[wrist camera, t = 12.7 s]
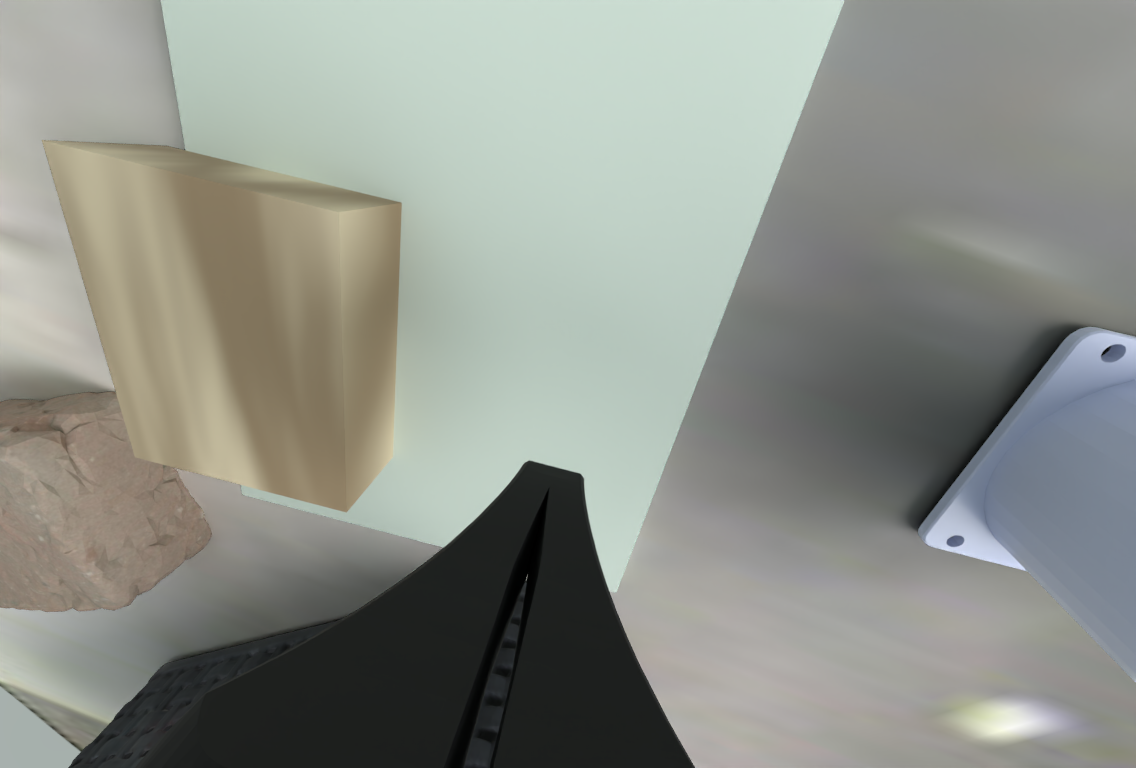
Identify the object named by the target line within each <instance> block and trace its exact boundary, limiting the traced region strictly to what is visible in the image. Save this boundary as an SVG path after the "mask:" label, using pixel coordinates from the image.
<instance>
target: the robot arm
mask: <svg viewBox="0 0 1136 768" xmlns="http://www.w3.org/2000/svg"><path fill="white" fill-rule="evenodd" d="M1109 346H1111V348H1110V350H1109V351H1108V352H1107V353H1106V354H1104V355H1102V356H1101V354H1102V352H1103V351H1104V350H1105V349H1106V348H1107V347H1109ZM918 535H919V536H920V537H921V539H922V540H923V541H924V543H925V544H926V545H928V546H930V547H934V548H938V549H942V550H945V551H949V552H953V553H957V554H961V555H965V556H969V557H973V558H977V559H981V560H985V561H989V562H993V563H997V564H1001V565H1005V566H1008V567H1012V568H1016V569H1020V570H1024V571H1028V572H1029V573H1030V575H1031V576H1032V577H1033V578H1034V579H1035V580H1036V581H1037V582H1038V583H1039V584H1040V585H1041V586H1042V587H1043V588H1044V589H1045V590H1046V591H1047V592H1048V593H1049V594H1050V595H1051V596H1052V597H1053V598H1054V599H1055V600H1056V601H1057V602H1058V603H1059V604H1060V605H1061V606H1062V607H1063V608H1064V609H1065V610H1066V612H1067V613H1068V614H1069V615H1070V616H1071V617H1072V618H1073V619H1074V620H1075V621H1076V622H1077V623H1078V624H1079V625H1080V626H1081V627H1082V628H1083V629H1084V630H1085V631H1086V632H1087V633H1088V634H1089V635H1090V636H1091V637H1092V638H1093V639H1094V640H1095V641H1096V642H1097V643H1098V644H1099V645H1100V646H1101V647H1102V649H1103V650H1104V651H1105V652H1106V653H1107V654H1108V655H1109V656H1110V657H1111V658H1112V659H1113V660H1114V661H1115V662H1116V663H1117V664H1118V665H1119V666H1120V667H1121V668H1122V669H1123V670H1124V671H1125V672H1126V673H1127V674H1128V675H1129V676H1130V677H1131V678H1132V679H1133V680H1134V681H1135V682H1136V337H1135V336H1131V335H1127V334H1122V333H1118V332H1114V331H1110V330H1106V329H1102V328H1097V327H1085V328H1082V329H1078V330H1077V331H1075V332H1073V333H1071V334H1070V335H1069V336H1068V337H1067V338H1066V339H1065V340H1064V341H1063V342H1062V343H1061V345H1060V346H1059V347H1058V349H1057V350H1056V351H1055V352H1054V354H1053V355H1052V356H1051V358H1050V359H1049V360H1048V362H1047V363H1046V364H1045V365H1044V367H1043V368H1042V369H1041V371H1040V372H1039V373H1038V374H1037V376H1036V377H1035V378H1034V380H1033V381H1032V382H1031V383H1030V385H1029V386H1028V387H1027V389H1026V390H1025V391H1024V393H1023V394H1022V395H1021V396H1020V398H1019V399H1018V400H1017V402H1016V403H1015V404H1014V405H1013V407H1012V408H1011V409H1010V411H1009V412H1008V413H1007V414H1006V416H1005V417H1004V418H1003V420H1002V421H1001V422H1000V424H999V425H998V426H997V427H996V429H995V430H994V431H993V433H992V434H991V435H990V436H989V438H988V439H987V440H986V442H985V443H984V444H983V446H982V447H981V448H980V449H979V451H978V452H977V453H976V455H975V456H974V457H973V458H972V460H971V461H970V462H969V464H968V465H967V466H966V467H965V469H964V470H963V471H962V473H961V474H960V475H959V477H958V478H957V479H956V480H955V482H954V483H953V484H952V486H951V487H950V488H949V489H948V491H947V492H946V493H945V495H944V496H943V497H942V498H941V500H940V501H939V502H938V504H937V505H936V506H935V508H934V509H933V510H932V511H931V513H930V514H929V515H928V517H927V518H926V519H925V520H924V522H923V523H922V524H921V526H920V527H919V529H918ZM951 536H953V537H951ZM950 537H951V538H950ZM527 575H528V577H527ZM526 577H527V583H526V589H525V595H524V601H523V607H522V613H521V619H520V625H519V631H518V637H517V643H516V649H515V655H514V661H513V667H512V673H511V678H510V683H509V688H508V693H507V698H506V702H505V706H504V710H503V714H502V718H501V722H500V726H499V730H498V734H497V738H496V742H495V746H494V750H493V754H492V758H491V763H490V767H489V768H695V767H694V765H693V763H692V762H691V760H690V758H689V756H688V755H687V753H686V751H685V749H684V748H683V746H682V744H681V742H680V741H679V739H678V737H677V735H676V734H675V732H674V730H673V728H672V727H671V725H670V723H669V721H668V719H667V717H666V715H665V713H664V711H663V709H662V708H661V706H660V704H659V702H658V700H657V698H656V696H655V694H654V692H653V690H652V688H651V686H650V684H649V682H648V680H647V678H646V676H645V674H644V672H643V670H642V668H641V666H640V664H639V662H638V660H637V658H636V656H635V653H634V651H633V649H632V647H631V644H630V642H629V640H628V638H627V635H626V633H625V631H624V628H623V626H622V623H621V621H620V618H619V616H618V614H617V611H616V608H615V606H614V603H613V600H612V598H611V595H610V592H609V589H608V586H607V583H606V580H605V577H604V574H603V571H602V568H601V565H600V561H599V558H598V554H597V551H596V547H595V543H594V539H593V535H592V531H591V526H590V522H589V517H588V511H587V506H586V499H585V490H584V478H583V476H582V475H581V474H580V473H576V472H573V471H569V470H565V469H561V468H557V467H553V466H549V465H546V464H542V463H538V462H534V461H530V460H529V461H527V462H525V463H524V464H523V465H522V467H521V468H520V470H519V471H518V473H517V474H516V475H515V477H514V478H513V479H512V480H511V482H510V483H509V484H508V485H507V486H506V487H505V489H504V490H503V491H502V492H501V493H500V494H499V495H498V496H497V497H496V499H495V500H494V501H493V502H492V503H491V504H490V505H489V506H488V507H487V508H486V509H485V510H484V511H483V512H482V513H481V514H480V515H479V516H478V517H477V518H476V519H475V520H474V521H473V522H472V523H471V524H470V525H468V526H467V527H466V528H465V529H464V530H463V531H462V532H461V533H460V534H459V535H457V536H456V537H455V538H454V539H453V540H452V541H451V542H450V543H448V544H447V545H446V546H445V547H444V548H443V549H441V550H440V551H439V552H438V553H436V554H435V555H434V556H433V557H432V558H430V559H429V560H428V561H426V562H425V563H424V564H423V565H421V566H420V567H419V568H417V569H416V570H415V571H413V572H412V573H411V574H409V575H408V576H407V577H405V578H404V579H402V580H401V581H399V582H398V583H397V584H395V585H394V586H392V587H391V588H389V589H388V590H387V591H385V592H384V593H382V594H381V595H379V596H378V597H376V598H375V599H373V600H372V601H370V602H369V603H367V604H366V605H364V606H363V607H361V608H359V609H358V610H356V611H355V612H353V613H351V614H349V615H348V616H346V617H344V618H343V619H341V620H339V621H338V622H336V623H334V624H333V625H331V626H329V627H328V628H326V629H324V630H323V631H321V632H319V633H318V634H316V635H314V636H312V637H311V638H309V639H307V640H306V641H304V642H302V643H300V644H299V645H297V646H295V647H293V648H291V649H289V650H288V651H286V652H284V653H282V654H280V655H278V656H276V657H274V658H272V659H270V660H268V661H266V662H264V663H262V664H260V665H259V666H257V667H255V668H253V669H251V670H249V671H247V672H245V673H243V674H241V675H239V676H237V677H235V678H233V679H231V680H229V681H227V682H225V683H224V684H222V685H220V686H217V687H215V688H213V689H212V690H210V691H208V692H206V693H205V694H204V695H203V696H202V697H201V698H200V699H199V700H198V701H197V702H196V703H195V704H194V705H193V706H192V707H191V708H190V709H189V710H188V711H187V712H186V713H185V714H184V715H183V716H182V717H181V718H180V719H179V720H178V721H177V722H176V723H175V724H174V725H173V726H172V727H171V728H170V729H169V730H168V731H167V732H166V733H165V734H164V735H163V736H162V737H161V738H160V739H159V740H158V742H157V743H156V744H155V745H154V746H153V747H152V748H151V749H150V750H149V752H148V753H147V754H146V755H145V756H144V758H143V759H142V760H141V761H140V762H139V763H138V765H137V766H136V767H135V768H464V766H465V762H466V759H467V755H468V751H469V748H470V744H471V741H472V737H473V734H474V730H475V726H476V723H477V719H478V716H479V712H480V709H481V705H482V702H483V698H484V695H485V691H486V688H487V685H488V682H489V679H490V676H491V673H492V670H493V667H494V664H495V661H496V659H497V656H498V653H499V651H500V648H501V645H502V642H503V640H504V637H505V634H506V632H507V629H508V626H509V624H510V621H511V618H512V615H513V613H514V610H515V607H516V605H517V602H518V599H519V596H520V594H521V591H522V588H523V586H524V583H525V580H526Z"/></svg>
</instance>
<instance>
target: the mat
mask: <svg viewBox="0 0 1136 768" xmlns="http://www.w3.org/2000/svg"><path fill="white" fill-rule="evenodd" d="M844 1H845V0H161V6H162V12H163V18H164V24H165V30H166V36H167V42H168V48H169V54H170V60H171V66H172V72H173V79H174V85H175V91H176V97H177V103H178V109H179V115H180V121H181V127H182V133H183V139H184V145H185V150H186V151H190V152H194V153H198V154H202V155H206V156H210V157H215V158H219V159H223V160H227V161H231V162H235V163H239V164H244V165H248V166H252V167H256V168H260V169H264V170H269V171H273V172H277V173H281V174H285V175H289V176H293V177H298V178H302V179H306V180H310V181H314V182H318V183H322V184H327V185H331V186H335V187H339V188H343V189H347V190H351V191H356V192H360V193H364V194H368V195H372V196H376V197H380V198H385V199H389V200H393V201H397V202H401V203H402V211H401V240H400V269H399V298H398V326H397V355H396V384H395V413H394V441H393V458H392V459H391V460H390V461H389V462H388V464H387V465H386V466H385V467H384V468H383V470H382V471H381V472H380V473H379V474H378V476H377V477H376V478H375V479H374V480H373V482H372V483H371V484H370V485H369V486H368V488H367V489H366V490H365V491H364V492H363V494H362V495H361V496H360V497H359V498H358V500H357V501H356V502H355V503H354V504H353V506H352V507H351V508H350V509H349V510H348V512H347V513H346V512H343V511H339V510H335V509H331V508H327V507H323V506H320V505H316V504H312V503H308V502H304V501H300V500H297V499H293V498H289V497H285V496H281V495H277V494H274V493H270V492H266V491H262V490H258V489H255V488H251V487H247V486H243V485H241V491H242V495H244V496H248V497H252V498H256V499H260V500H263V501H267V502H271V503H275V504H279V505H283V506H286V507H290V508H294V509H298V510H302V511H306V512H309V513H313V514H317V515H321V516H325V517H328V518H332V519H336V520H340V521H344V522H348V523H351V524H355V525H359V526H363V527H367V528H370V529H374V530H378V531H382V532H386V533H390V534H393V535H397V536H401V537H405V538H409V539H413V540H416V541H420V542H424V543H428V544H432V545H435V546H439V547H443V548H444V547H445V546H446V545H447V544H448V543H450V542H451V541H452V540H453V539H454V538H455V537H456V536H457V535H459V534H460V533H461V532H462V531H463V530H464V529H465V528H466V527H467V526H468V525H470V524H471V523H472V522H473V521H474V520H475V519H476V518H477V517H478V516H479V515H480V514H481V513H482V512H483V511H484V510H485V509H486V508H487V507H488V506H489V505H490V504H491V503H492V502H493V501H494V500H495V499H496V497H497V496H498V495H499V494H500V493H501V492H502V491H503V490H504V489H505V487H506V486H507V485H508V484H509V483H510V482H511V480H512V479H513V478H514V477H515V475H516V474H517V473H518V471H519V470H520V468H521V467H522V465H523V464H524V463H525V462H527V461H529V460H530V461H534V462H538V463H542V464H546V465H549V466H553V467H557V468H561V469H565V470H569V471H573V472H576V473H580V474H581V475H582V476H583V478H584V490H585V499H586V506H587V511H588V517H589V522H590V526H591V531H592V535H593V539H594V543H595V547H596V551H597V554H598V558H599V561H600V565H601V568H602V571H603V574H604V577H605V580H606V583H607V586H608V589H609V591H611V592H615V593H616V592H617V589H618V587H619V584H620V581H621V579H622V576H623V574H624V571H625V569H626V566H627V563H628V561H629V558H630V556H631V553H632V550H633V548H634V545H635V543H636V540H637V537H638V535H639V532H640V530H641V527H642V524H643V522H644V519H645V517H646V514H647V511H648V509H649V506H650V504H651V501H652V498H653V496H654V493H655V491H656V488H657V486H658V483H659V480H660V478H661V475H662V473H663V470H664V467H665V465H666V462H667V460H668V457H669V454H670V452H671V449H672V447H673V444H674V441H675V439H676V436H677V434H678V431H679V428H680V426H681V423H682V421H683V418H684V415H685V413H686V410H687V408H688V405H689V403H690V400H691V397H692V395H693V392H694V390H695V387H696V384H697V382H698V379H699V377H700V374H701V371H702V369H703V366H704V364H705V361H706V358H707V356H708V353H709V351H710V348H711V345H712V343H713V340H714V338H715V335H716V332H717V330H718V327H719V325H720V322H721V320H722V317H723V314H724V312H725V309H726V307H727V304H728V301H729V299H730V296H731V294H732V291H733V288H734V286H735V283H736V281H737V278H738V275H739V273H740V270H741V268H742V265H743V262H744V260H745V257H746V255H747V252H748V250H749V247H750V244H751V242H752V239H753V237H754V234H755V231H756V229H757V226H758V224H759V221H760V218H761V216H762V213H763V211H764V208H765V205H766V203H767V200H768V198H769V195H770V192H771V190H772V187H773V185H774V182H775V179H776V177H777V174H778V172H779V169H780V167H781V164H782V161H783V159H784V156H785V154H786V151H787V148H788V146H789V143H790V141H791V138H792V135H793V133H794V130H795V128H796V125H797V122H798V120H799V117H800V115H801V112H802V109H803V107H804V104H805V102H806V99H807V96H808V94H809V91H810V89H811V86H812V84H813V81H814V78H815V76H816V73H817V71H818V68H819V65H820V63H821V60H822V58H823V55H824V52H825V50H826V47H827V45H828V42H829V39H830V37H831V34H832V32H833V29H834V26H835V24H836V21H837V19H838V16H839V13H840V11H841V8H842V6H843V3H844Z"/></svg>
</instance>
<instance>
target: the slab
mask: <svg viewBox="0 0 1136 768" xmlns="http://www.w3.org/2000/svg"><path fill="white" fill-rule="evenodd" d="M42 142H43V146H44V149H45V153H46V156H47V159H48V163H49V166H50V170H51V173H52V176H53V180H54V183H55V187H56V190H57V193H58V197H59V200H60V204H61V207H62V211H63V214H64V217H65V221H66V224H67V228H68V231H69V234H70V238H71V241H72V245H73V248H74V251H75V255H76V258H77V262H78V265H79V268H80V272H81V275H82V279H83V282H84V285H85V289H86V292H87V296H88V299H89V302H90V306H91V309H92V313H93V316H94V319H95V323H96V326H97V330H98V333H99V336H100V340H101V343H102V347H103V350H104V354H105V357H106V360H107V364H108V367H109V371H110V374H111V377H112V381H113V384H114V388H115V391H116V394H117V398H118V401H119V405H120V408H121V411H122V415H123V418H124V422H125V425H126V428H127V432H128V435H129V439H130V442H131V445H132V449H133V452H134V456H135V457H136V458H140V459H143V460H147V461H151V462H155V463H159V464H163V465H166V466H170V467H174V468H178V469H182V470H186V471H189V472H193V473H197V474H201V475H205V476H209V477H212V478H216V479H220V480H224V481H228V482H232V483H235V484H239V485H243V486H247V487H251V488H255V489H258V490H262V491H266V492H270V493H274V494H277V495H281V496H285V497H289V498H293V499H297V500H300V501H304V502H308V503H312V504H316V505H320V506H323V507H327V508H331V509H335V510H339V511H343V512H346V513H347V512H348V510H349V509H350V508H351V507H352V506H353V504H354V503H355V502H356V501H357V500H358V498H359V497H360V496H361V495H362V494H363V492H364V491H365V490H366V489H367V488H368V486H369V485H370V484H371V483H372V482H373V480H374V479H375V478H376V477H377V476H378V474H379V473H380V472H381V471H382V470H383V468H384V467H385V466H386V465H387V464H388V462H389V461H390V460H391V459H392V458H393V441H394V413H395V384H396V355H397V326H398V298H399V269H400V240H401V211H402V203H401V202H397V201H393V200H389V199H385V198H380V197H376V196H372V195H368V194H364V193H360V192H356V191H351V190H347V189H343V188H339V187H335V186H331V185H327V184H322V183H318V182H314V181H310V180H306V179H302V178H298V177H293V176H289V175H285V174H281V173H277V172H273V171H269V170H264V169H260V168H256V167H252V166H248V165H244V164H239V163H235V162H231V161H227V160H223V159H219V158H215V157H210V156H206V155H202V154H198V153H194V152H190V151H186V150H181V149H177V148H173V147H169V146H159V145H137V144H116V143H94V142H72V141H50V140H42Z"/></svg>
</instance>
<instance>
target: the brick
mask: <svg viewBox="0 0 1136 768" xmlns="http://www.w3.org/2000/svg"><path fill="white" fill-rule="evenodd" d="M204 516H205V514H204V512H203V510H202V509H201V507H200V506H198V504H197V503H196V502H195V501H194V498H192V497H191V496H190V494H189V492H188V490H187V489H186V488H185V487H184V485H183V483H182V481H181V479H180V478H179V475H178V473H177V471H176V470H175V469H174V468H173V467H170V466H166V465H163V464H159V463H155V462H151V461H147V460H143V459H140V458H136V457H135V456H134V452H133V449H132V445H131V442H130V439H129V435H128V432H127V428H126V425H125V422H124V418H123V415H122V411H121V408H120V405H119V401H118V398H117V394H116V393H115V392H103V393H92V392H84V393H78V394H71V395H64V396H60V397H56V398H52V399H50V400H47V401H45V400H42V401H38V400H26V399H12V400H6V401H3V402H0V608H16V609H25V610H42V611H45V612H58V611H67V610H69V609H72V608H74V609H75V610H77V611H90V610H96V609H100V608H103V609H108V610H116V609H119V608H122V607H125V606H128V605H130V604H131V603H132V601H133V600H134V599H135V597H136V596H137V595H140V594H142V593H144V592H147V591H149V590H151V589H152V588H153V587H154V586H155V585H156V584H157V583H158V582H160V581H161V580H162V579H163V578H165V577H166V576H167V575H169V574H170V573H172V572H173V571H174V570H175V569H176V568H177V567H179V566H180V565H181V564H182V563H183V562H184V561H185V560H187V559H189V558H191V557H193V556H194V555H195V554H197V553H198V552H199V551H201V550H202V549H203V548H204V547H205V546H206V545H207V543H208V541H209V540H210V538H211V535H212V533H211V530H210V527H209V524H208V523H207V521H206V520H205V518H204Z"/></svg>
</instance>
